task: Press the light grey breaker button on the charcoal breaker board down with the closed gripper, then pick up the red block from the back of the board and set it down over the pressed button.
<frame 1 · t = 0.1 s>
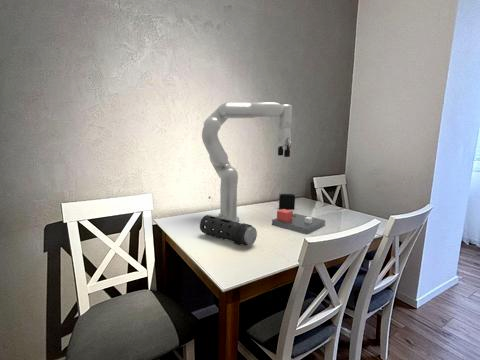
hand: (283, 156, 171), 37 cm above the table, tool pointing down, fingers open, 9 cm apart
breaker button: (308, 221, 158), point 3 cm above the table, slide at 0.0 cm
electronic device: (286, 209, 197), on the table
breaker board: (298, 225, 163), on the table
muzzle brake: (227, 241, 138), on the table
red block: (284, 219, 163), point 3 cm above the table, touching breaker board
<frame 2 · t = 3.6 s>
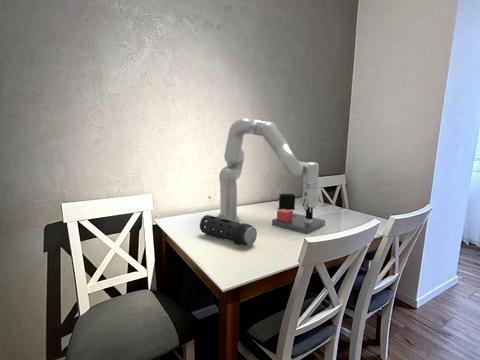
hand: (309, 218, 158), 5 cm above the table, tool pointing down, fingers closed
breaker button: (308, 222, 158), point 3 cm above the table, slide at 0.5 cm, touching gripper
everything else where it was.
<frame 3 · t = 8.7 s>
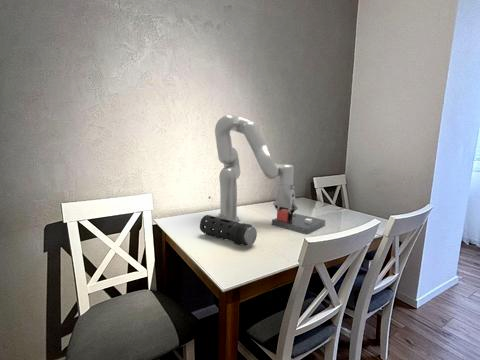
hand: (284, 218, 162), 4 cm above the table, tool pointing down, fingers closed on red block, 6 cm apart
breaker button: (308, 223, 158), point 3 cm above the table, slide at 0.9 cm
red block: (284, 219, 163), point 3 cm above the table, touching breaker board, gripper
everything else where it was.
when the fingers open (5 cm above the table, at t = 14.8 s): red block drops 1 cm, resting on breaker board.
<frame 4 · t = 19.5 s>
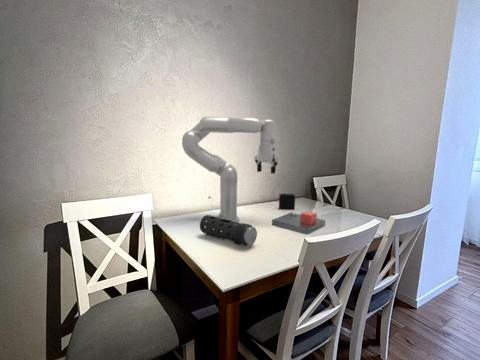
hand: (266, 172, 166), 28 cm above the table, tool pointing down, fingers open, 9 cm apart
red block: (308, 222, 158), point 3 cm above the table, touching breaker board
everything else where it was.
at the end: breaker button slide at 0.9 cm; red block 0.0 cm off-centre on the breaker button, point 3.9 cm above the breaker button's base; red block tilted 0° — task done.
